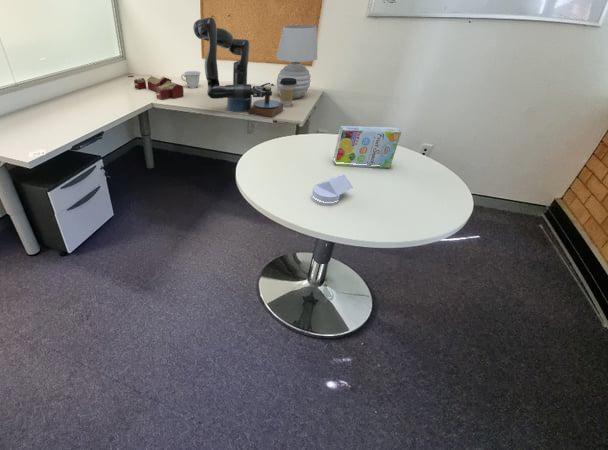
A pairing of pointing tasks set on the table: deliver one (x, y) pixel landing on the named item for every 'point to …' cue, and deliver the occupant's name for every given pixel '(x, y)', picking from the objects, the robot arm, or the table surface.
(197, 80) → the teacup
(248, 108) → the bowl
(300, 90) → the table lamp
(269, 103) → the lid
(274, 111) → the board
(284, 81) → the coffee cup
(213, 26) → the robot arm
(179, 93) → the toy houses
